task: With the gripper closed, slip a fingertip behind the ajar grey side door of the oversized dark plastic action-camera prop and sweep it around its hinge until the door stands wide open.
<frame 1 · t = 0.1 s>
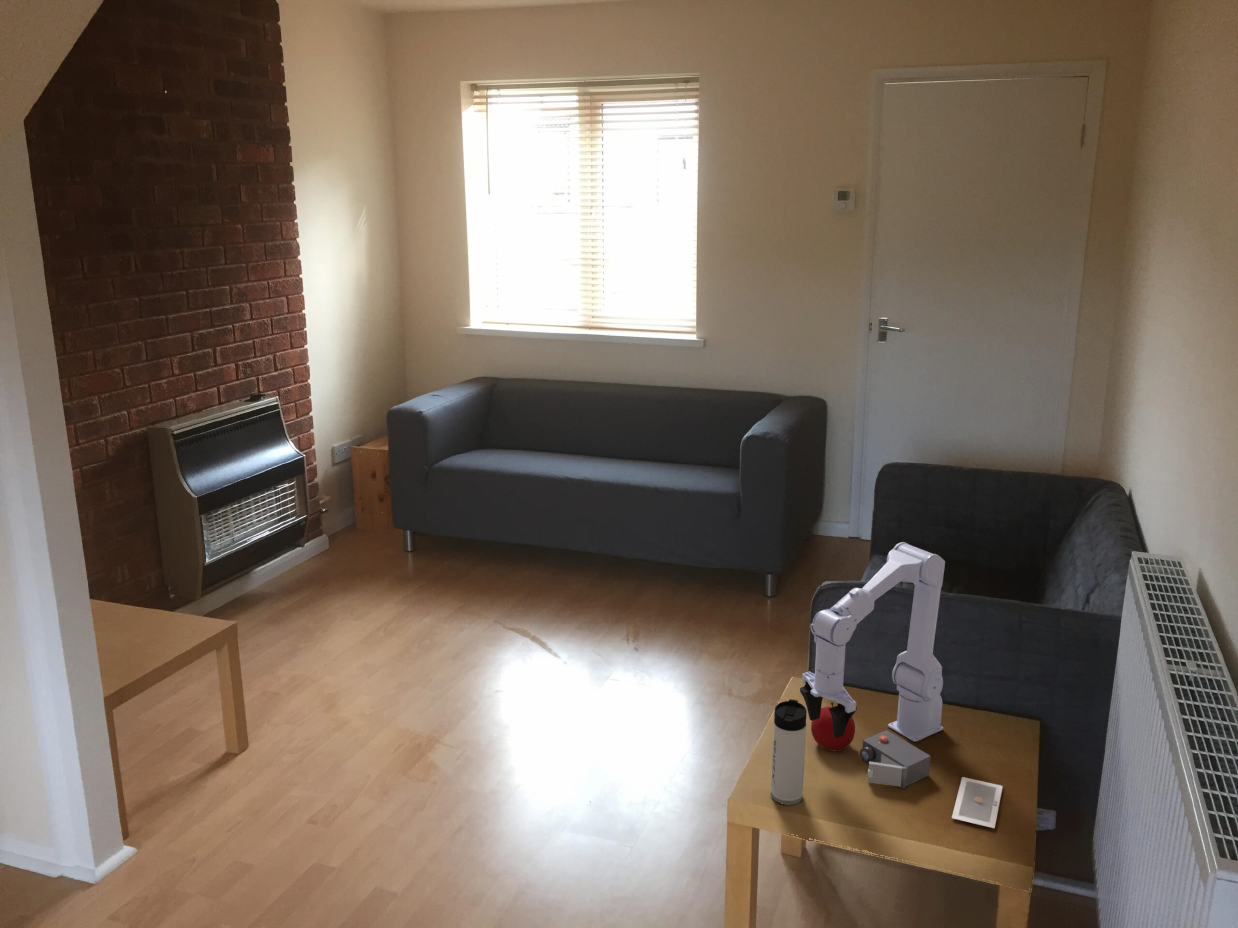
hand: (826, 727, 216), 10 cm above the table, fingers open, 7 cm apart
door: (887, 775, 213), point 2 cm above the table, hinge at 40.0°
touchpad: (977, 807, 208), on the table
camera body: (894, 767, 220), on the table
apple: (831, 746, 228), on the table
travel mug: (786, 796, 210), on the table
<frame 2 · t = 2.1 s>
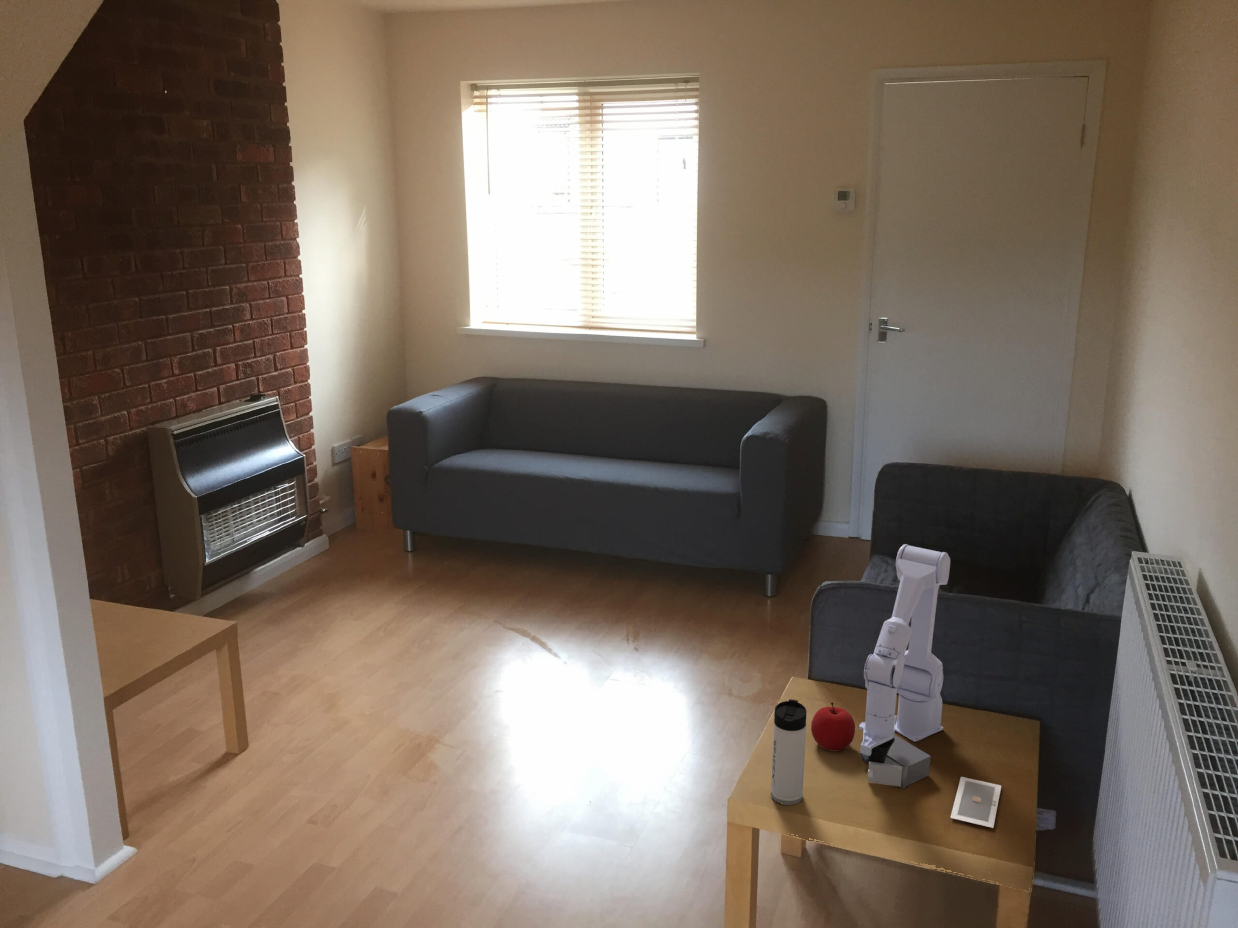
hand: (876, 769, 215), 2 cm above the table, fingers closed
door: (887, 775, 213), point 2 cm above the table, hinge at 40.5°, touching gripper
everything else where it was.
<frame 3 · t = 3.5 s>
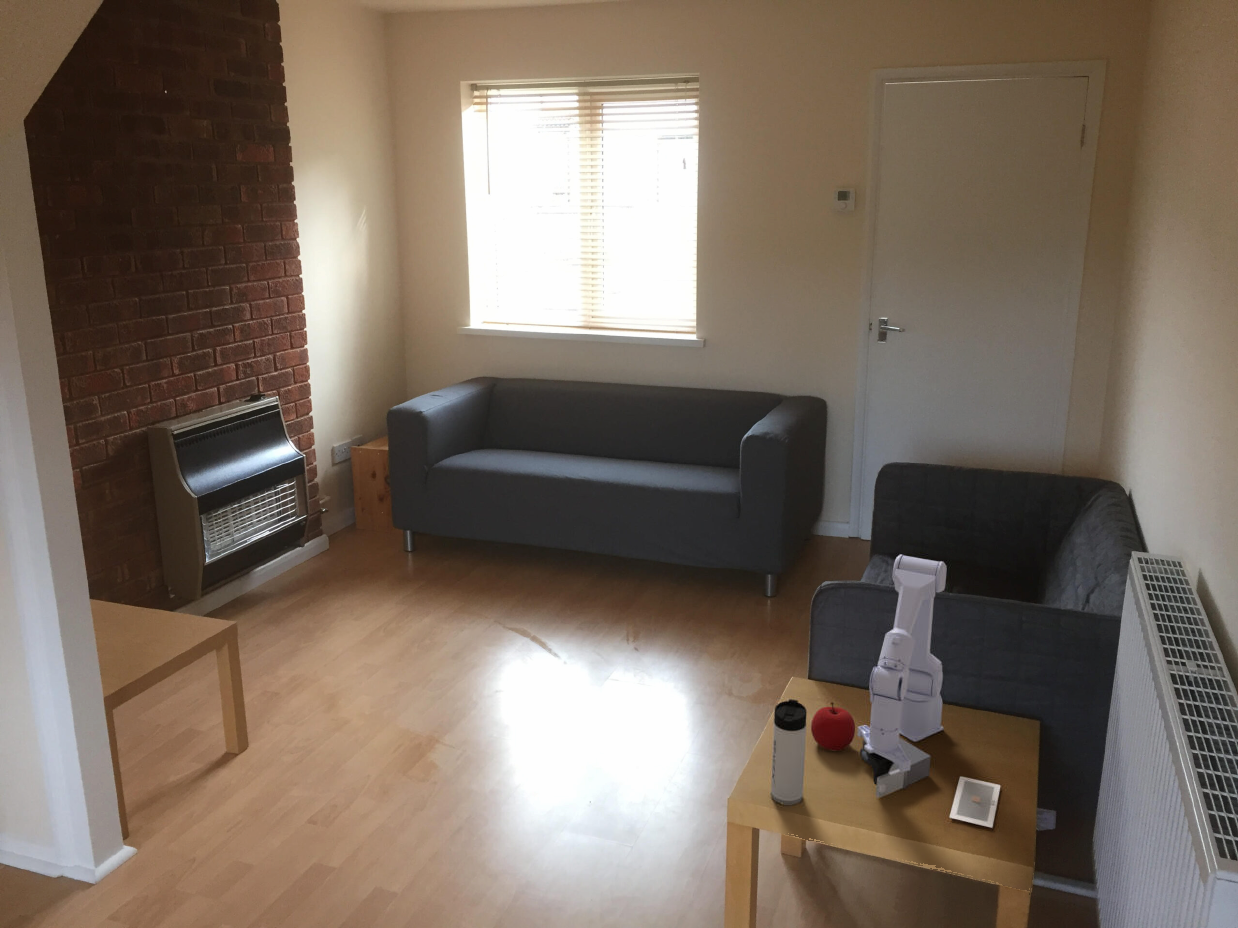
hand: (880, 783, 210), 2 cm above the table, fingers closed, pressing on door
door: (892, 783, 210), point 2 cm above the table, hinge at 86.5°, touching gripper
everything else where it was.
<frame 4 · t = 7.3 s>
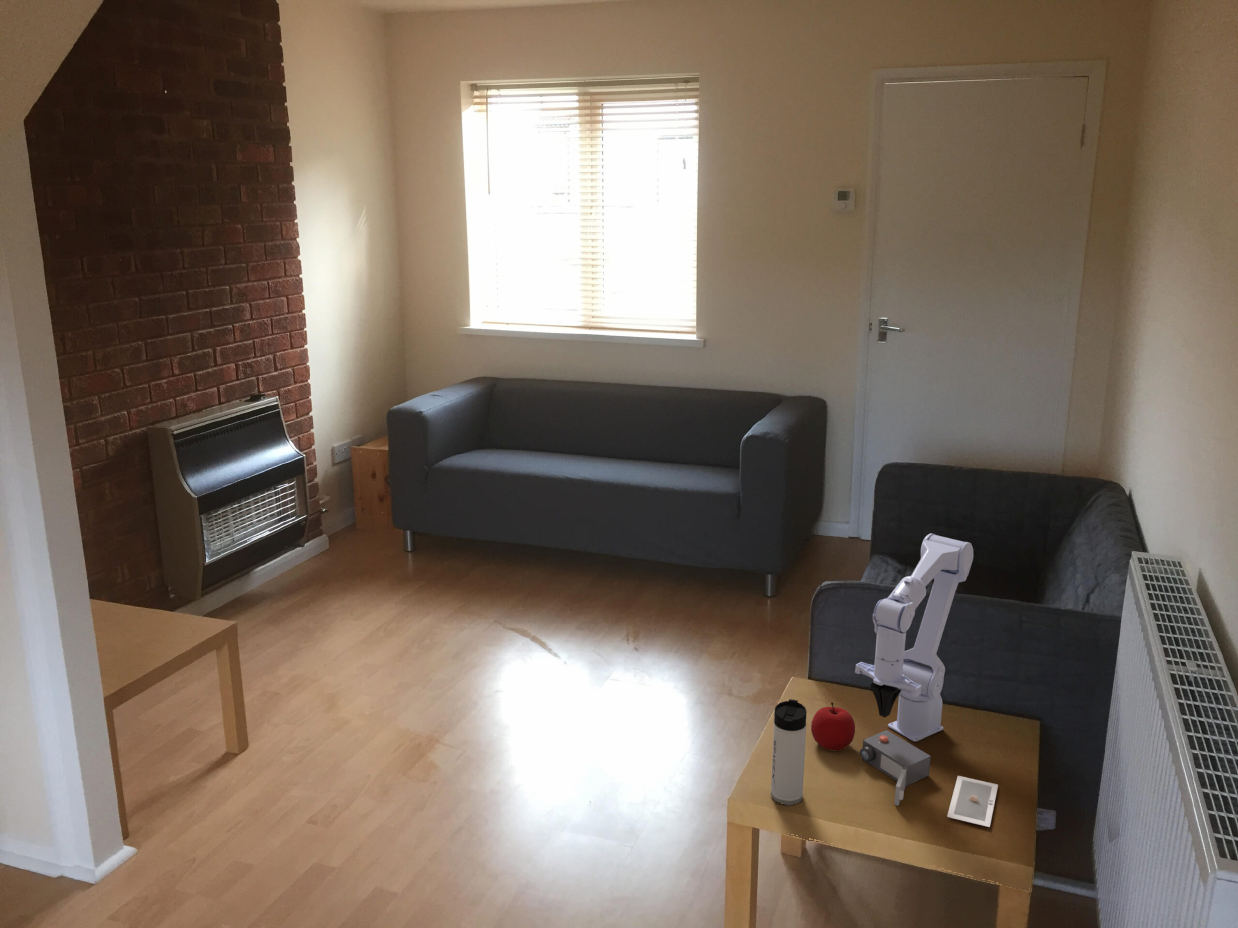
hand: (884, 714, 220), 10 cm above the table, fingers closed
door: (902, 786, 209), point 2 cm above the table, hinge at 121.3°
everything else where it was.
at the end: door at +121° (first picture: +40°) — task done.
